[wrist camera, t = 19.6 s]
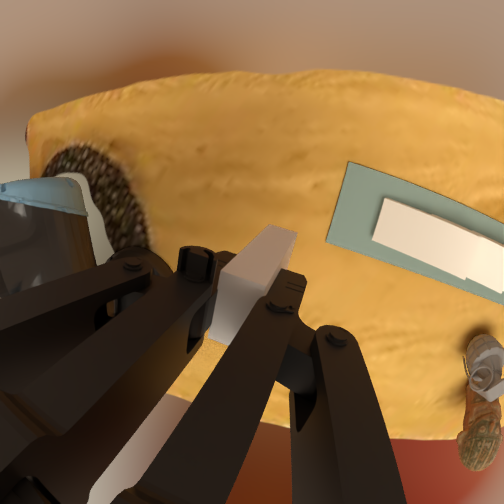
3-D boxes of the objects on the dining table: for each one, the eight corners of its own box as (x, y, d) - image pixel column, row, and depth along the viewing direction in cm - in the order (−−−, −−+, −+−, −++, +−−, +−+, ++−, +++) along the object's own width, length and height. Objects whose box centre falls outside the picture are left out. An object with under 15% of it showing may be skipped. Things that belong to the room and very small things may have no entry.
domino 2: (417, 255, 31) (501, 294, 25) (432, 214, 29) (517, 254, 24) (418, 252, 33) (498, 289, 27) (432, 213, 31) (514, 251, 25)
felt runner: (325, 240, 36) (325, 242, 36) (348, 161, 33) (349, 161, 32) (519, 310, 30) (520, 312, 29) (546, 247, 26) (548, 249, 26)
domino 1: (371, 240, 32) (464, 280, 27) (384, 198, 31) (481, 237, 25) (374, 237, 34) (463, 275, 28) (387, 197, 32) (479, 235, 26)
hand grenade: (487, 317, 32) (516, 362, 22) (496, 343, 32) (521, 389, 22) (451, 341, 35) (471, 391, 25) (462, 365, 35) (480, 415, 25)
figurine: (498, 366, 33) (526, 431, 19) (482, 401, 35) (501, 466, 22) (455, 370, 36) (477, 443, 22) (442, 406, 38) (454, 476, 24)
